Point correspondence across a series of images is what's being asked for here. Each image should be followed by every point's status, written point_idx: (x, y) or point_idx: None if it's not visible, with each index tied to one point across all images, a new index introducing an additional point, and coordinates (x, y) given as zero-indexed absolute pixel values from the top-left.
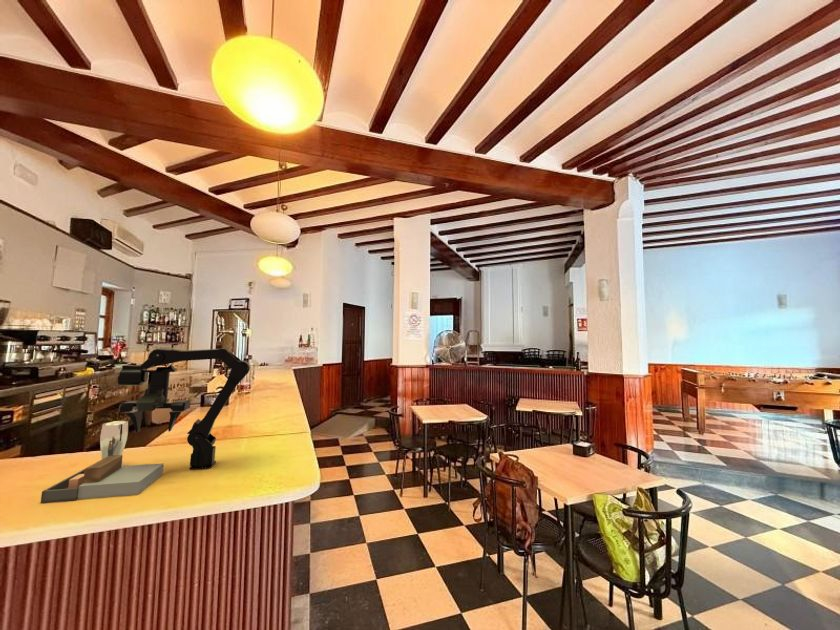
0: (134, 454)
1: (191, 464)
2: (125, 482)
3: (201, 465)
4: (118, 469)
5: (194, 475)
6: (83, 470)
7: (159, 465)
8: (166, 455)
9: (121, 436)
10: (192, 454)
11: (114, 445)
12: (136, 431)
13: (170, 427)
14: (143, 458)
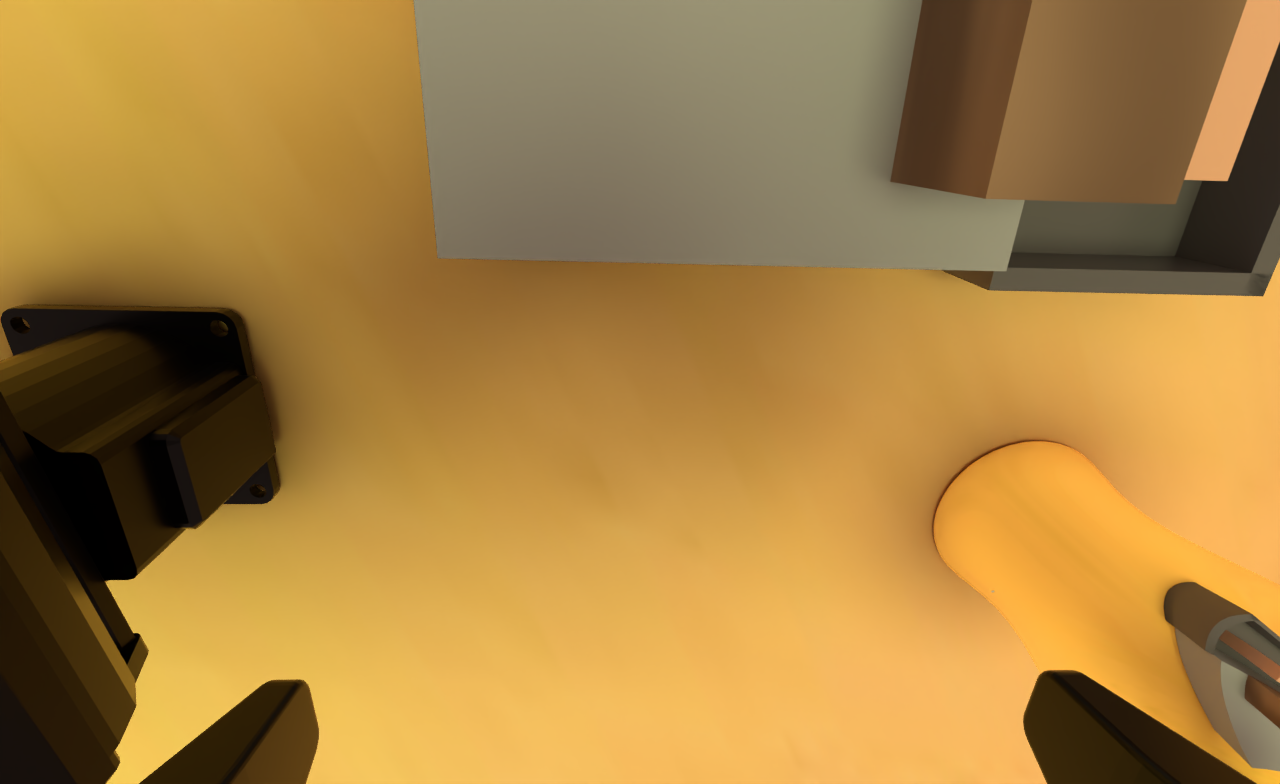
0: (926, 774)
1: (231, 378)
2: None
3: (92, 329)
4: (903, 108)
5: (67, 110)
6: (1264, 244)
7: (445, 171)
8: (670, 725)
9: (1230, 754)
10: (154, 433)
11: (1192, 614)
12: (1091, 687)
13: (162, 772)
14: (828, 685)
